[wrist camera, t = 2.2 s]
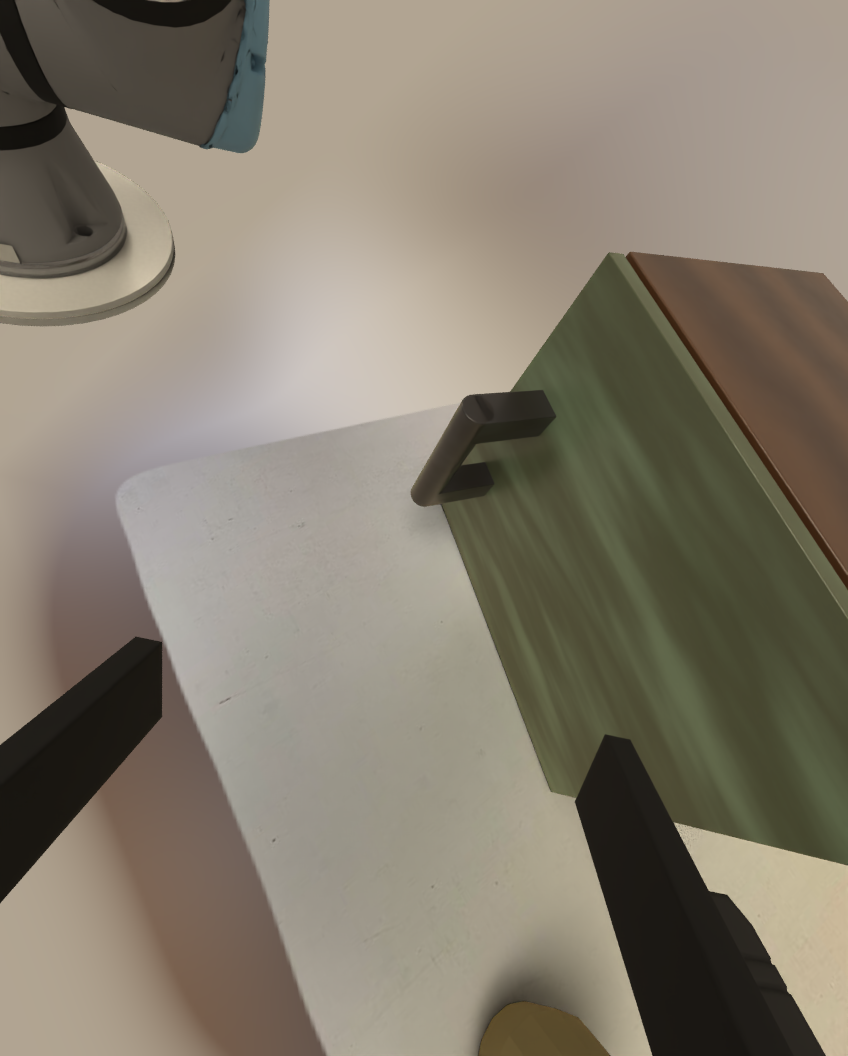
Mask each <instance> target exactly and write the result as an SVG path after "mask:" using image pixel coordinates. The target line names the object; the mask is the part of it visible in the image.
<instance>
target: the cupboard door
mask: <svg viewBox="0 0 848 1056" xmlns="http://www.w3.org/2000/svg"><path fill="white" fill-rule="evenodd" d="M411 497H412V499H413V501H414V502H415V503H416V504H418V505H420V506H423V507H427V506H432V505H438V504H442V507H443V509H444V512H445V514H446V517H447V520H448V522H449V525H450V528H451V530H452V533H453V535H454V538H455V541H456V543H457V546H458V548H459V551H460V554H461V556H462V559H463V562H464V564H465V567H466V569H467V572H468V575H469V577H470V580H471V583H472V585H473V588H474V590H475V593H476V596H477V598H478V601H479V604H480V606H481V609H482V611H483V614H484V617H485V619H486V622H487V624H488V627H489V630H490V632H491V635H492V638H493V640H494V643H495V645H496V648H497V651H498V653H499V656H500V659H501V661H502V664H503V666H504V669H505V672H506V674H507V677H508V680H509V682H510V685H511V687H512V690H513V693H514V695H515V698H516V700H517V703H518V706H519V708H520V711H521V714H522V716H523V719H524V721H525V724H526V727H527V729H528V732H529V735H530V737H531V740H532V742H533V745H534V748H535V750H536V753H537V756H538V758H539V761H540V763H541V766H542V769H543V771H544V774H545V776H546V779H547V782H548V784H549V787H550V790H551V792H555V793H559V794H563V795H567V796H571V797H575V798H577V796H578V793H579V791H580V789H581V787H582V784H583V782H584V780H585V778H586V775H587V773H588V771H589V769H590V766H591V764H592V762H593V760H594V757H595V755H596V753H597V751H598V748H599V746H600V744H601V742H602V739H603V737H604V735H605V734H607V735H611V736H616V737H621V738H626V739H630V740H631V742H632V744H633V746H634V748H635V750H636V751H637V753H638V755H639V757H640V759H641V761H642V763H643V765H644V767H645V769H646V771H647V773H648V775H649V777H650V779H651V780H652V782H653V784H654V786H655V788H656V790H657V792H658V794H659V796H660V798H661V800H662V802H663V804H664V806H665V808H666V810H667V811H668V813H669V815H670V817H671V819H672V821H673V822H675V823H679V824H683V825H687V826H691V827H695V828H699V829H703V830H707V831H711V832H715V833H719V834H723V835H728V836H732V837H736V838H740V839H744V840H748V841H752V842H756V843H760V844H764V845H768V846H772V847H776V848H780V849H784V850H788V851H792V852H796V853H800V854H804V855H808V856H812V857H816V858H820V859H824V860H828V861H832V862H836V863H840V864H844V865H848V590H847V588H846V587H845V585H844V584H843V582H842V581H841V579H840V578H839V576H838V575H837V573H836V572H835V570H834V569H833V567H832V566H831V564H830V563H829V561H828V560H827V558H826V557H825V555H824V554H823V552H822V551H821V549H820V548H819V546H818V545H817V543H816V542H815V540H814V539H813V537H812V536H811V534H810V533H809V531H808V530H807V528H806V527H805V525H804V524H803V522H802V521H801V519H800V518H799V516H798V515H797V513H796V512H795V510H794V509H793V507H792V506H791V504H790V503H789V501H788V500H787V498H786V497H785V495H784V494H783V492H782V491H781V489H780V488H779V486H778V485H777V483H776V482H775V480H774V479H773V477H772V476H771V474H770V473H769V472H768V470H767V469H766V467H765V466H764V464H763V463H762V461H761V460H760V458H759V457H758V455H757V454H756V452H755V451H754V449H753V448H752V446H751V445H750V443H749V442H748V440H747V439H746V437H745V436H744V434H743V433H742V431H741V430H740V428H739V427H738V425H737V424H736V422H735V421H734V419H733V418H732V416H731V415H730V413H729V412H728V410H727V409H726V407H725V406H724V404H723V403H722V401H721V400H720V398H719V397H718V395H717V394H716V392H715V391H714V389H713V388H712V386H711V385H710V383H709V382H708V380H707V379H706V377H705V376H704V374H703V373H702V371H701V370H700V368H699V367H698V365H697V364H696V362H695V361H694V359H693V358H692V356H691V355H690V353H689V352H688V350H687V349H686V347H685V346H684V344H683V343H682V341H681V340H680V338H679V337H678V335H677V334H676V332H675V331H674V329H673V328H672V326H671V325H670V323H669V322H668V320H667V319H666V317H665V316H664V314H663V313H662V311H661V310H660V308H659V307H658V305H657V304H656V302H655V301H654V299H653V298H652V296H651V295H650V293H649V292H648V290H647V289H646V287H645V286H644V284H643V283H642V281H641V280H640V278H639V277H638V275H637V274H636V272H635V271H634V269H633V268H632V266H631V265H630V263H629V262H628V260H627V259H626V257H625V256H624V254H619V253H608V254H607V256H606V257H605V258H604V260H603V261H602V263H601V264H600V265H599V267H598V268H597V270H596V271H595V273H594V274H593V276H592V277H591V278H590V280H589V281H588V283H587V284H586V285H585V287H584V288H583V290H582V291H581V292H580V294H579V295H578V297H577V298H576V300H575V301H574V302H573V304H572V305H571V307H570V308H569V309H568V311H567V312H566V314H565V315H564V316H563V318H562V319H561V321H560V322H559V324H558V325H557V326H556V328H555V329H554V331H553V332H552V334H551V335H550V336H549V338H548V339H547V341H546V342H545V344H544V345H543V346H542V348H541V349H540V350H539V352H538V353H537V355H536V356H535V357H534V359H533V360H532V362H531V363H530V365H529V366H528V367H527V369H526V370H525V372H524V373H523V374H522V376H521V377H520V379H519V380H518V382H517V383H516V384H515V386H514V387H513V389H512V390H511V391H510V392H503V393H489V394H475V395H469V396H466V397H465V398H464V399H463V400H462V402H461V404H460V405H459V407H458V409H457V411H456V412H455V414H454V416H453V418H452V419H451V421H450V423H449V424H448V426H447V428H446V430H445V431H444V433H443V435H442V437H441V438H440V440H439V442H438V444H437V445H436V447H435V449H434V450H433V452H432V454H431V456H430V457H429V459H428V461H427V463H426V464H425V466H424V468H423V470H422V471H421V473H420V475H419V476H418V478H417V480H416V482H415V483H414V485H413V487H412V489H411Z"/></svg>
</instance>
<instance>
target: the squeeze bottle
mask: <svg viewBox="0 0 848 1056" xmlns="http://www.w3.org/2000/svg"><path fill="white" fill-rule="evenodd" d="M478 1056H610V1055H609V1053H608V1052H607V1051H606V1050H605V1049H604V1047H603V1046H602V1045H601V1044H600V1042H599V1041H598V1040H597V1039H596V1038H595V1036H594V1035H593V1034H592V1033H591V1032H590V1031H589V1029H588V1028H587V1027H586V1026H585V1025H584V1024H583V1022H582V1021H581V1020H580V1019H579V1018H578V1017H576V1016H573V1015H571V1014H568V1013H566V1012H563V1011H561V1010H558V1009H556V1008H552V1007H547V1006H543V1005H539V1004H535V1003H530V1002H526V1001H521V1002H517V1003H512V1004H508V1005H506V1006H505V1007H504V1008H503V1009H502V1010H501V1011H500V1012H499V1013H498V1014H497V1015H495V1016H494V1017H493V1018H492V1020H491V1022H490V1024H489V1026H488V1028H487V1030H486V1032H485V1034H484V1036H483V1038H482V1040H481V1045H480V1050H479V1055H478Z"/></svg>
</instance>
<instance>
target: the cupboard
mask: <svg viewBox="0 0 848 1056" xmlns="http://www.w3.org/2000/svg"><path fill="white" fill-rule="evenodd" d="M626 259H627V260H628V262H629V263H630V265H631V266H632V268H633V269H634V271H635V272H636V274H637V275H638V277H639V278H640V280H641V281H642V283H643V284H644V286H645V287H646V289H647V290H648V292H649V293H650V295H651V296H652V298H653V299H654V301H655V302H656V304H657V305H658V307H659V308H660V310H661V311H662V313H663V314H664V316H665V317H666V319H667V320H668V322H669V323H670V325H671V326H672V328H673V329H674V331H675V332H676V334H677V335H678V337H679V338H680V340H681V341H682V343H683V344H684V346H685V347H686V349H687V350H688V352H689V353H690V355H691V356H692V358H693V359H694V361H695V362H696V364H697V365H698V367H699V368H700V370H701V371H702V373H703V374H704V376H705V377H706V379H707V380H708V382H709V383H710V385H711V386H712V388H713V389H714V391H715V392H716V394H717V395H718V397H719V398H720V400H721V401H722V403H723V404H724V406H725V407H726V409H727V410H728V412H729V413H730V415H731V416H732V418H733V419H734V421H735V422H736V424H737V425H738V427H739V428H740V430H741V431H742V433H743V434H744V436H745V437H746V439H747V440H748V442H749V443H750V445H751V446H752V448H753V449H754V451H755V452H756V454H757V455H758V457H759V458H760V460H761V461H762V463H763V464H764V466H765V467H766V469H767V470H768V472H769V473H770V474H771V476H772V477H773V479H774V480H775V482H776V483H777V485H778V486H779V488H780V489H781V491H782V492H783V494H784V495H785V497H786V498H787V500H788V501H789V503H790V504H791V506H792V507H793V509H794V510H795V512H796V513H797V515H798V516H799V518H800V519H801V521H802V522H803V524H804V525H805V527H806V528H807V530H808V531H809V533H810V534H811V536H812V537H813V539H814V540H815V542H816V543H817V545H818V546H819V548H820V549H821V551H822V552H823V554H824V555H825V557H826V558H827V560H828V561H829V563H830V564H831V566H832V567H833V569H834V570H835V572H836V573H837V575H838V576H839V578H840V579H841V581H842V582H843V584H844V585H845V587H846V588H847V590H848V302H847V300H846V299H845V298H844V297H843V296H842V295H841V293H840V292H839V291H838V290H837V289H836V288H835V287H834V285H833V284H832V283H831V282H830V281H829V279H827V277H826V276H825V275H824V274H823V273H815V272H807V271H798V270H789V269H781V268H771V267H763V266H754V265H744V264H735V263H727V262H718V261H709V260H699V259H691V258H682V257H673V256H664V255H654V254H646V253H637V252H629V254H628V255H627V256H626Z"/></svg>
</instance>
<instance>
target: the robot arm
mask: <svg viewBox="0 0 848 1056" xmlns="http://www.w3.org/2000/svg"><path fill="white" fill-rule="evenodd" d="M268 26H269V0H0V275H5V276H12V277H20V278H57V277H66V276H72V275H76V274H80V273H84V272H87V271H90V270H93V269H95V268H98V267H100V266H102V265H104V264H105V263H107V262H108V261H110V260H111V259H112V258H114V257H115V256H116V255H117V254H118V253H119V252H120V250H121V249H122V247H123V245H124V243H125V241H126V237H127V226H126V222H125V219H124V216H123V212H122V209H121V206H120V203H119V201H118V200H117V197H116V195H115V193H114V191H113V190H112V188H111V186H110V185H109V183H108V182H107V180H106V179H105V177H104V175H103V174H102V172H101V171H100V169H99V168H98V166H97V164H96V163H95V161H94V160H93V158H92V157H91V155H90V154H89V152H88V150H87V149H86V147H85V146H84V144H83V143H82V141H81V139H80V138H79V136H78V135H77V133H76V132H75V130H74V128H73V127H72V125H71V123H70V122H69V119H68V116H67V114H66V111H65V108H64V107H67V108H70V109H75V110H78V111H82V112H85V113H89V114H92V115H96V116H99V117H102V118H106V119H110V120H113V121H116V122H119V123H123V124H126V125H130V126H133V127H137V128H140V129H143V130H147V131H150V132H154V133H157V134H161V135H164V136H168V137H171V138H174V139H178V140H181V141H184V142H188V143H191V144H195V145H198V146H200V147H201V148H204V149H210V148H218V149H222V150H227V151H232V152H236V153H245V152H248V151H249V150H251V149H252V148H253V147H254V146H255V144H256V142H257V140H258V136H259V132H260V126H261V119H262V111H263V100H264V88H265V62H266V52H267V44H268ZM161 717H162V642H159V641H154V640H149V639H144V638H139V637H135V638H134V639H132V640H131V641H130V642H129V643H127V644H126V645H125V646H124V647H122V648H121V649H120V650H119V651H117V652H116V653H115V654H114V655H112V656H111V657H110V658H109V659H107V660H106V661H105V662H104V663H102V664H101V665H100V666H99V667H97V668H96V669H95V670H94V671H92V672H91V673H90V674H88V675H87V676H86V677H85V678H83V679H82V680H81V681H80V682H79V683H77V684H76V685H75V686H73V687H72V688H71V689H70V690H69V691H67V692H66V693H65V694H63V696H61V697H60V698H59V699H57V700H56V701H55V702H54V703H52V704H51V705H50V706H48V707H47V708H46V709H45V710H43V711H42V712H41V713H40V714H38V715H37V716H36V717H35V718H34V719H32V720H31V721H30V722H29V723H27V724H26V725H25V726H23V727H22V728H21V729H20V730H19V731H17V732H16V733H15V734H13V735H12V736H11V737H10V738H8V739H7V740H6V741H5V742H3V743H2V744H1V745H0V903H1V902H2V901H3V899H4V898H5V897H6V896H7V895H8V894H9V892H10V891H11V890H12V889H13V888H14V887H15V886H16V884H17V883H18V882H19V881H20V880H21V879H22V877H23V876H24V875H25V874H26V873H27V872H28V871H29V869H30V868H31V867H32V866H33V865H34V864H35V863H36V861H37V860H38V859H39V858H40V857H41V856H42V854H43V853H44V852H45V851H46V850H47V849H48V848H49V846H50V845H51V844H52V843H53V842H54V840H56V838H57V837H58V836H59V835H60V833H62V831H63V830H64V829H65V828H66V827H67V826H68V824H69V823H70V822H71V821H72V820H73V818H75V816H76V815H77V814H78V813H79V812H80V810H81V809H82V808H83V807H84V806H85V805H86V804H87V803H88V801H89V800H90V799H91V798H92V797H93V796H94V794H95V793H96V792H97V791H98V790H99V789H100V788H101V786H102V785H103V784H104V783H105V782H106V781H107V780H108V778H109V777H110V776H111V775H112V774H113V773H114V771H115V770H116V769H117V768H118V767H119V765H121V763H122V762H123V761H124V760H125V759H126V758H127V756H128V755H129V754H130V753H131V752H132V751H133V750H134V748H135V747H136V746H137V745H138V744H139V743H140V741H141V740H142V739H143V738H144V737H145V735H147V733H148V732H149V731H150V730H151V729H152V728H153V726H154V725H155V724H156V723H157V722H158V721H159V720H160V718H161ZM575 804H576V807H577V810H578V813H579V817H580V820H581V823H582V826H583V830H584V833H585V836H586V840H587V843H588V846H589V849H590V853H591V856H592V859H593V862H594V866H595V869H596V872H597V876H598V879H599V882H600V885H601V889H602V892H603V895H604V898H605V902H606V905H607V908H608V911H609V915H610V918H611V921H612V925H613V928H614V931H615V934H616V938H617V941H618V944H619V947H620V951H621V954H622V957H623V961H624V964H625V967H626V970H627V974H628V977H629V980H630V983H631V987H632V990H633V993H634V997H635V1000H636V1003H637V1006H638V1010H639V1013H640V1016H641V1019H642V1023H643V1026H644V1029H645V1033H646V1036H647V1039H648V1042H649V1046H650V1049H651V1052H652V1055H653V1056H826V1055H825V1053H824V1052H823V1050H822V1048H821V1046H820V1045H819V1043H818V1041H817V1039H816V1038H815V1036H814V1034H813V1032H812V1030H811V1029H810V1027H809V1025H808V1023H807V1022H806V1020H805V1018H804V1016H803V1014H802V1013H801V1011H800V1009H799V1007H798V1006H797V1004H796V1002H795V1000H794V999H793V997H792V995H791V994H789V993H788V992H787V986H786V984H785V983H784V981H783V979H782V977H781V976H780V974H779V972H778V970H777V968H776V967H775V965H772V963H771V960H770V959H771V958H770V956H769V954H768V953H767V951H766V949H765V947H764V945H763V944H762V942H761V940H760V938H759V937H758V935H757V933H756V931H755V929H754V928H753V926H752V924H751V923H750V922H749V921H748V920H747V918H746V917H745V916H744V915H743V914H742V912H741V911H740V910H739V909H738V908H737V906H736V905H735V904H734V903H733V901H732V900H731V899H730V898H729V897H728V895H725V894H720V893H715V892H710V891H708V889H707V887H706V885H705V883H704V881H703V879H702V877H701V875H700V873H699V871H698V870H697V868H696V866H695V864H694V862H693V860H692V858H691V856H690V854H689V852H688V850H687V848H686V846H685V844H684V842H683V840H682V839H681V837H680V835H679V833H678V831H677V829H676V827H675V825H674V823H673V821H672V819H671V817H670V815H669V813H668V811H667V810H666V808H665V806H664V804H663V802H662V800H661V798H660V796H659V794H658V792H657V790H656V788H655V786H654V784H653V782H652V780H651V779H650V777H649V775H648V773H647V771H646V769H645V767H644V765H643V763H642V761H641V759H640V757H639V755H638V753H637V751H636V750H635V748H634V746H633V744H632V742H631V740H630V739H626V738H621V737H616V736H611V735H607V734H605V735H604V737H603V739H602V742H601V744H600V746H599V748H598V751H597V753H596V755H595V757H594V760H593V762H592V764H591V766H590V769H589V771H588V773H587V775H586V778H585V780H584V782H583V784H582V787H581V789H580V791H579V793H578V796H577V798H576V800H575Z"/></svg>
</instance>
